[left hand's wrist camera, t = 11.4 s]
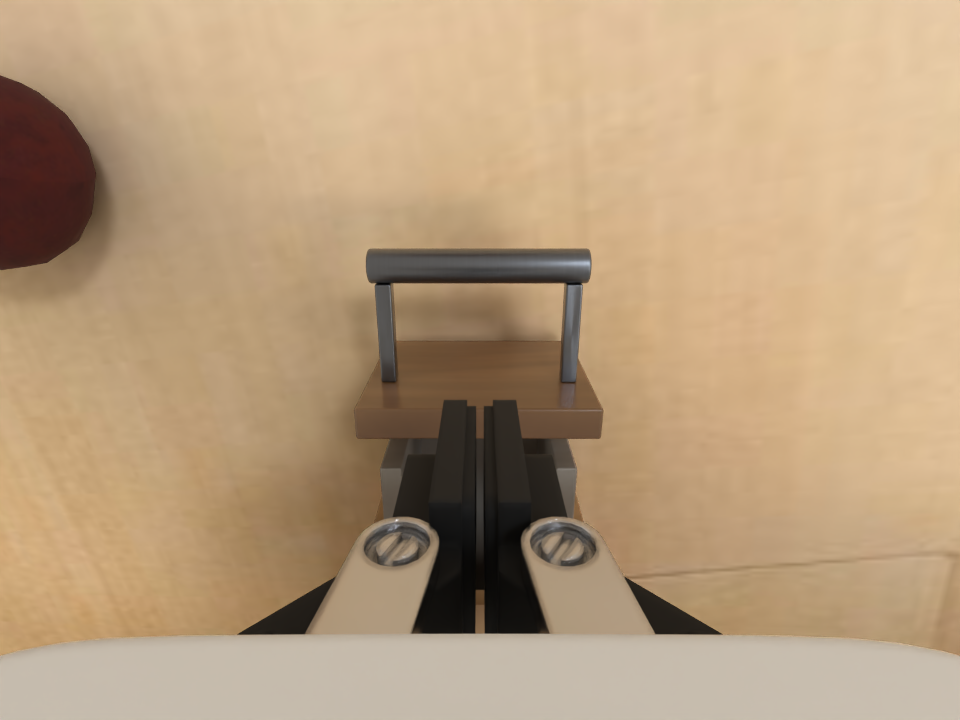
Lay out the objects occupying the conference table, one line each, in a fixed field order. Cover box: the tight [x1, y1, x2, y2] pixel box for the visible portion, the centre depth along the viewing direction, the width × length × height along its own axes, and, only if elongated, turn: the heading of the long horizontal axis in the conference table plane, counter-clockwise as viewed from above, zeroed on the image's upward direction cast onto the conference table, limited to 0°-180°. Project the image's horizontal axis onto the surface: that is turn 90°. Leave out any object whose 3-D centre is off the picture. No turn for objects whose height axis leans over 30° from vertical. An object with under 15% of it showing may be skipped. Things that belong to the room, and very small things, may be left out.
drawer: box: [354, 249, 603, 590], centre depth 25 cm, size 25×9×8 cm, turn 0°
